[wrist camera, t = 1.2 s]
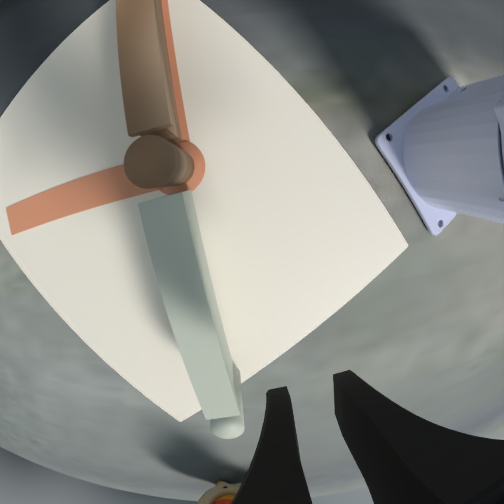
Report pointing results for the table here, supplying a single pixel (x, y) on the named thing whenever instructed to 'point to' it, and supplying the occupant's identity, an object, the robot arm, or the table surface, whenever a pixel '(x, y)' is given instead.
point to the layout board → (204, 195)
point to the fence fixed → (149, 98)
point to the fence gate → (193, 308)
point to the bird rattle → (220, 494)
